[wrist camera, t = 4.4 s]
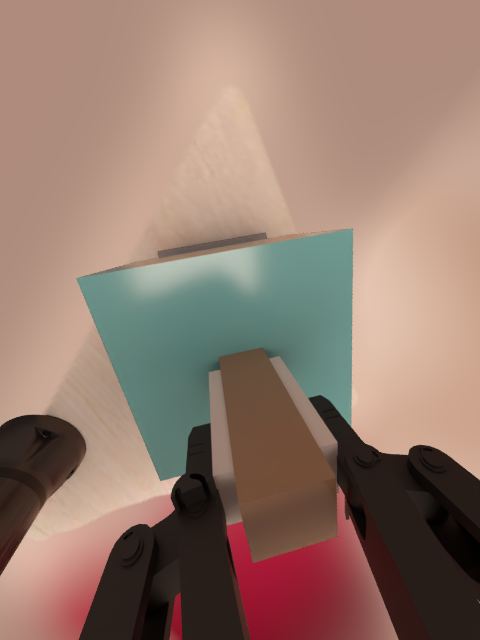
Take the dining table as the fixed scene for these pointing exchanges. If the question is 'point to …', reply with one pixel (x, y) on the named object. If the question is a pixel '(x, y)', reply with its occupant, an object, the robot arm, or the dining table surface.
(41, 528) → the dining table surface
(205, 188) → the dining table surface
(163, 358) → the teal base with peg
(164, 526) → the robot arm
